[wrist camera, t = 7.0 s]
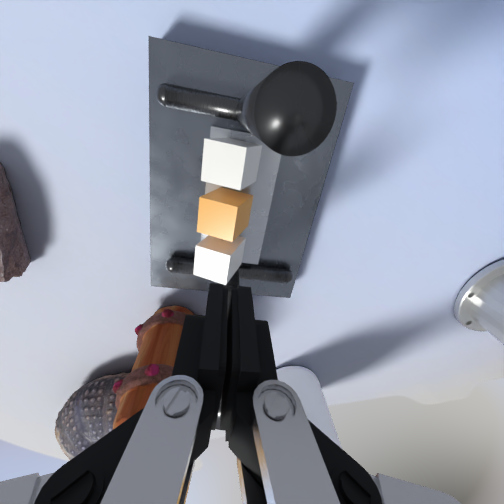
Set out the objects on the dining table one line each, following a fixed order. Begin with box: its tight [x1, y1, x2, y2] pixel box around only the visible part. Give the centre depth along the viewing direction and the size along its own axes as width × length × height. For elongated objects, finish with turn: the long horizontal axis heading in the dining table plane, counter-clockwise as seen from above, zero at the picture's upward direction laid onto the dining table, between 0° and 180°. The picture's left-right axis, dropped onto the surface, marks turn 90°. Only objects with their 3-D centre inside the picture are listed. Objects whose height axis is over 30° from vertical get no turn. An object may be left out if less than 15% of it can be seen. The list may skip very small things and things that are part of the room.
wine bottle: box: [276, 366, 342, 449], centre depth 30 cm, size 10×10×30 cm
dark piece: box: [149, 36, 354, 430], centre depth 19 cm, size 16×22×18 cm
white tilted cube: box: [201, 138, 262, 190], centre depth 19 cm, size 3×3×4 cm
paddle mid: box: [197, 187, 254, 242], centre depth 21 cm, size 3×3×4 cm
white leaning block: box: [193, 235, 246, 285], centre depth 23 cm, size 3×3×4 cm
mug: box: [113, 306, 195, 429], centre depth 29 cm, size 15×8×15 cm, turn 179°
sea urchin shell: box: [55, 372, 129, 460], centre depth 38 cm, size 19×19×10 cm
